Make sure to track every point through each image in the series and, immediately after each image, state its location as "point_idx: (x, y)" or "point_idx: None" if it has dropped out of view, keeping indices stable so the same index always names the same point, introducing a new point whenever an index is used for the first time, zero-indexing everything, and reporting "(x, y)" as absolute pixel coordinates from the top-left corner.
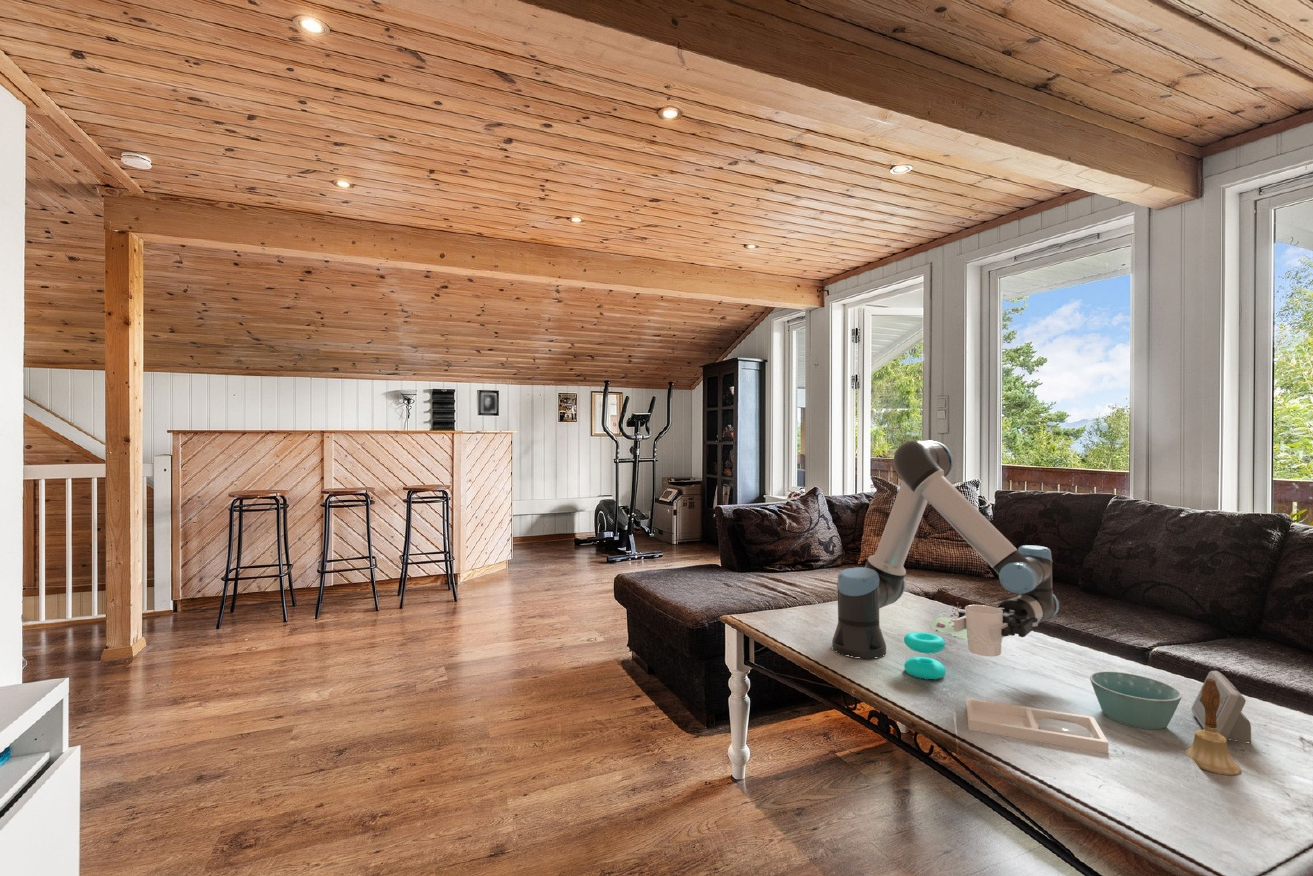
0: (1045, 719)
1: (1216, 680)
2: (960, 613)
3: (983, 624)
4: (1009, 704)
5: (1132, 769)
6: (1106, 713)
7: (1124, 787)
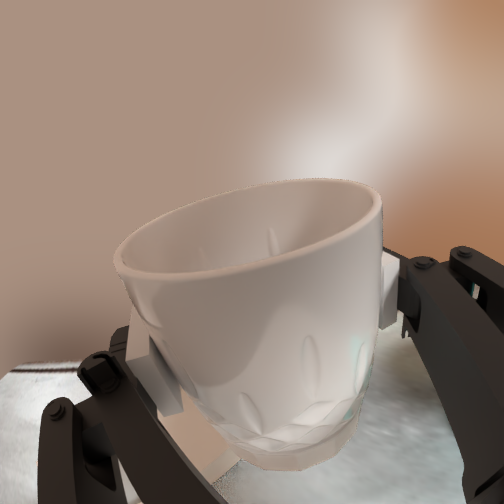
0: (135, 491)
1: None
2: (451, 252)
3: (201, 264)
4: (203, 467)
5: (32, 467)
6: None
7: (36, 422)
